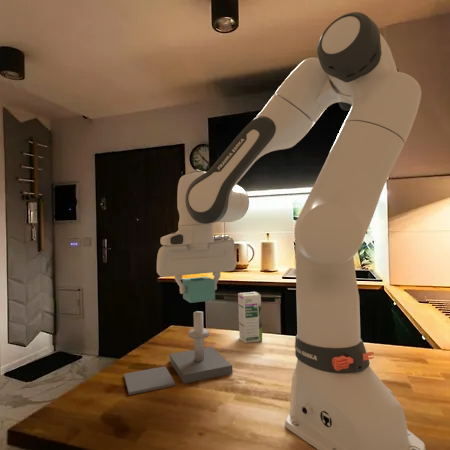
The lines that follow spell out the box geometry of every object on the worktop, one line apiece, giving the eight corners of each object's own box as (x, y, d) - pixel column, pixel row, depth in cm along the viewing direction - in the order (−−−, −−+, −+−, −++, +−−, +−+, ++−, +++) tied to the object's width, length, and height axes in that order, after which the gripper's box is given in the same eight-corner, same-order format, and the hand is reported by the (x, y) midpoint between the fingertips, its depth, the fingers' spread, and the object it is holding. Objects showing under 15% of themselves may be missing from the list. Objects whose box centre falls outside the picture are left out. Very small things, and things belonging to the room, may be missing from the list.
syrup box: (244, 343, 100) (243, 295, 100) (238, 337, 105) (237, 292, 106) (262, 341, 101) (261, 294, 102) (255, 335, 107) (254, 290, 107)
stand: (232, 373, 79) (231, 315, 79) (183, 383, 75) (182, 322, 75) (212, 353, 92) (211, 304, 92) (169, 361, 88) (168, 309, 88)
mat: (175, 385, 74) (175, 382, 74) (128, 395, 70) (128, 392, 70) (165, 368, 83) (165, 366, 83) (124, 376, 79) (124, 373, 79)
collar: (215, 299, 82) (214, 279, 82) (190, 303, 79) (189, 282, 79) (206, 295, 88) (205, 276, 88) (183, 298, 85) (182, 279, 85)
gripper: (228, 235, 91) (231, 285, 90) (154, 238, 83) (156, 294, 83) (238, 234, 85) (241, 288, 85) (159, 238, 77) (161, 298, 77)
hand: (198, 291), depth 83 cm, fingers closed on collar, 6 cm apart
